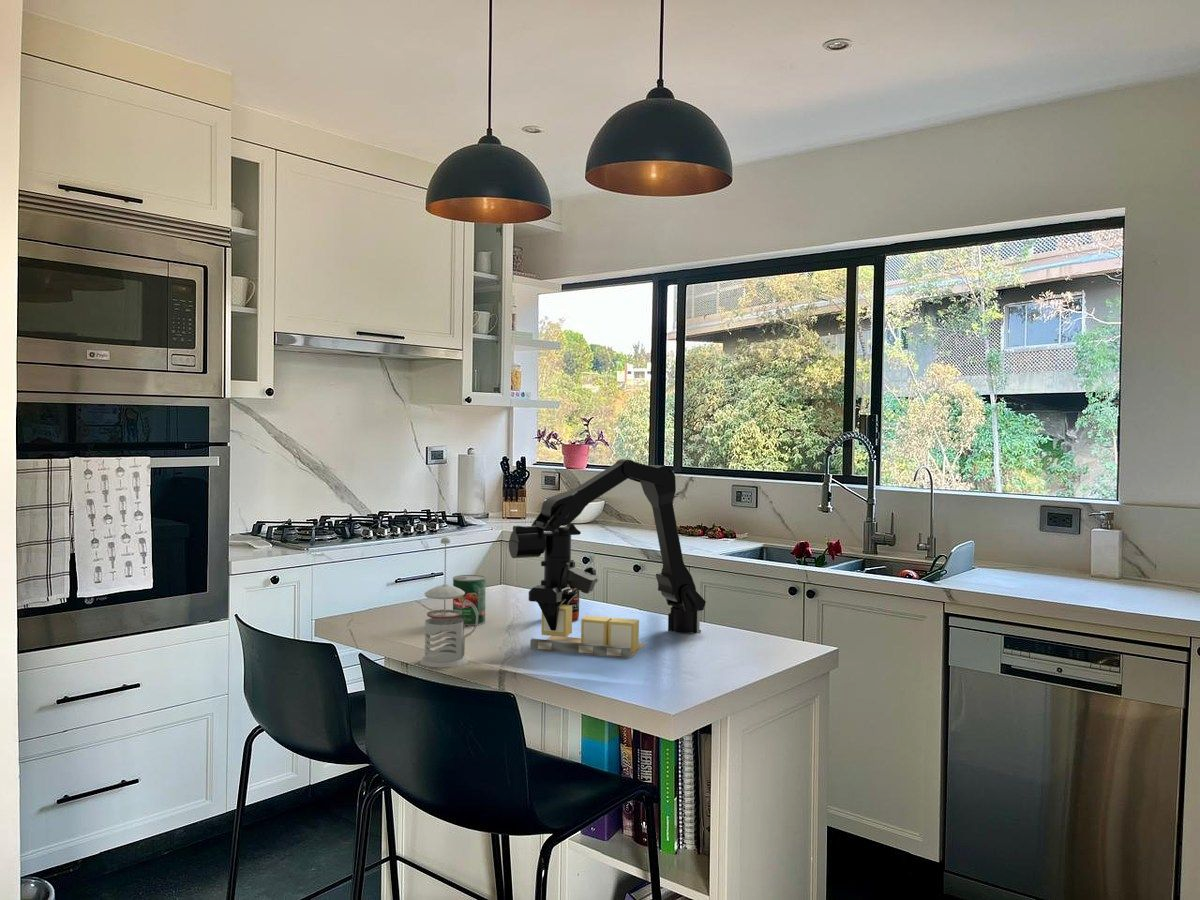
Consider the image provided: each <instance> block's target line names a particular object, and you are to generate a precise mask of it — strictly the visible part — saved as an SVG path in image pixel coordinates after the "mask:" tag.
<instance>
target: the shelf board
mask: <svg viewBox="0 0 1200 900" xmlns="http://www.w3.org/2000/svg"><path fill="white" fill-rule="evenodd" d="M529 643H530V645H529V646H530V647H529V649H530V650H534V651H543V652H544V651H545V652H555V653H564V654H565V653H566V654H567V653H568V654H577V655H588V656H597V657H609V658H621V659H627V660H628V659H629V660H630V658H632V657H633V656H634V655H636V653H638V651H640V650H641V649H642V648H644V646H645V645H646V643H642V642H640V643H639V648H638V649H637V650H636V651H634V652H631V647H621V646H610V645H599V644H588V643H581V637H571V636H570V637H569V636H566V637H561V636H549V637H548V638H546V639H543V638H541V639H540V638H530V640H529Z"/></svg>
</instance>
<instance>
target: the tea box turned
mask: <svg viewBox="0 0 1200 900" xmlns="http://www.w3.org/2000/svg"><path fill="white" fill-rule="evenodd" d="M572 633H573V621H572V605H560V607H559V614H558V621H557V627H556V630H555V631H553V630H550V627H549V625H548V623H547V621H546V619H545V616H544V614H543V612H542V611H541V635H542V636H549V637H551V636H561V637H569V635H571V634H572Z"/></svg>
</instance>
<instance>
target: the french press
mask: <svg viewBox="0 0 1200 900" xmlns="http://www.w3.org/2000/svg"><path fill="white" fill-rule="evenodd" d="M440 544H444V583H443V584H441V585H437V586H434V587H433V588H430V589H429V590H427V591H425V592H424V596H425V597H426V598H427V599H433V600H443V601H444V602H443V603H444V604H443V607H444V609H440V608H439V609H433V610H430V611H428V612H427V613H426V616H427V617H429V618H427V619H425V621H424V625H425V626H424V627H425V628H424V656H423V657H422V658H421V659H420V660H419V664H420V665H423V666H424V667H430V668H452V667H460V666H463V665H465V664H467V663H469V658H468V657H467V656H466V655H465V647H466V645H465V644H466V643H465V640H466V639H465V638H467V637H469V636H471V634H473V633H474V632H475V631H476V628H477V627H478V625H477V624H478V611H477V609H476V606H475V605H474V604H473V603H472V602H470V601H468V600H464V602H463V603H462V604H463V608H464V607H465V603H467V604H469V605H470V606H471V607H472V608H473V609H474V607H475V609H476V611H475V609H474V611H475V615H476V625H475V626H474V628H473V629H472V630H471V631H470V632H468V633H466V634H465V635H464V633H465V631H464V630H465V629H464V627H465V626H464V619H462V618H458V617H460V616H461V615H462V614H463V613H462V612H461V611H459V610H453V609H447V608H446V600H453V599H455V598H460V597H463V596H464V595H465V592H464V591H463V590H461V589H459V588H457V587H454V586H453V585H448V584H446V577H447V576H446V571H447V570H446V569H447V568H446V567H447V566H446V565H447V563H446V562H447V559H446V558H447V544H451V539H450V538H449V537H442V538H441V539H440ZM466 601H468V602H470V603H471V604H472V605H473V606H474V607H473V606H472V605H471V604H470V603H468V602H466ZM476 612H477V613H476ZM453 622H455V623H458V624H454V623H453ZM447 623H451V624H447ZM445 631H447V632H445ZM443 632H445V633H443ZM435 635H436V636H435ZM431 636H434V637H431ZM443 638H445V639H443ZM441 639H443V640H441ZM436 641H437V642H436ZM431 642H435V643H431ZM444 644H445V645H444ZM441 645H443V646H441ZM438 646H441V647H438ZM436 647H438V648H436ZM431 648H432V649H431ZM433 648H436V649H433Z"/></svg>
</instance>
